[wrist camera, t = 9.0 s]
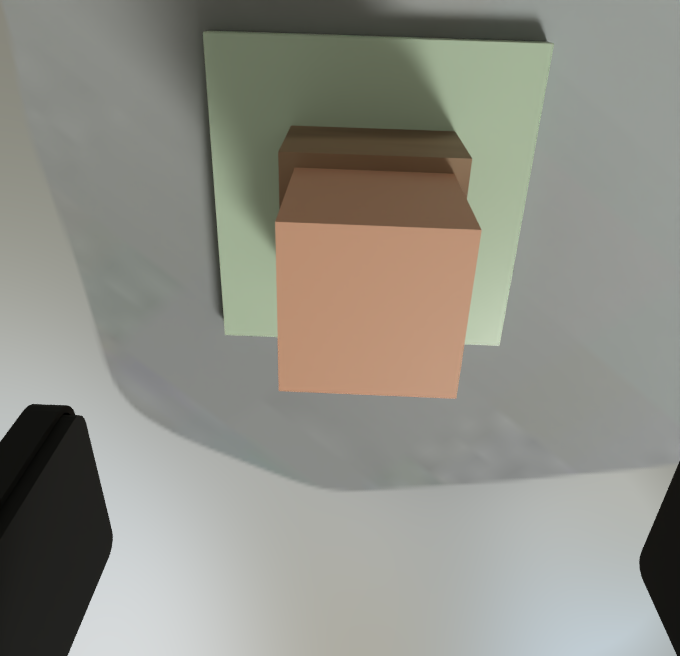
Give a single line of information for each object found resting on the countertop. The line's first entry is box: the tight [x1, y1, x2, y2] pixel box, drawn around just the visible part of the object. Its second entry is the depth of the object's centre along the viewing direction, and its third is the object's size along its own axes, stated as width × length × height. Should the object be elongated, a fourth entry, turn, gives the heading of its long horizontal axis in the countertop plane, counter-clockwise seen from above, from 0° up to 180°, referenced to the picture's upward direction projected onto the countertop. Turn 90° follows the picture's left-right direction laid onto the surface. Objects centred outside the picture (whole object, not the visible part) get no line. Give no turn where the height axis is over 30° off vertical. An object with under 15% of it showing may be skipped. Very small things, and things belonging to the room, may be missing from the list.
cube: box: [275, 168, 482, 399], centre depth 18 cm, size 5×5×5 cm
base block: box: [278, 126, 472, 210], centre depth 22 cm, size 6×6×4 cm
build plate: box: [203, 31, 554, 346], centre depth 24 cm, size 12×12×1 cm
